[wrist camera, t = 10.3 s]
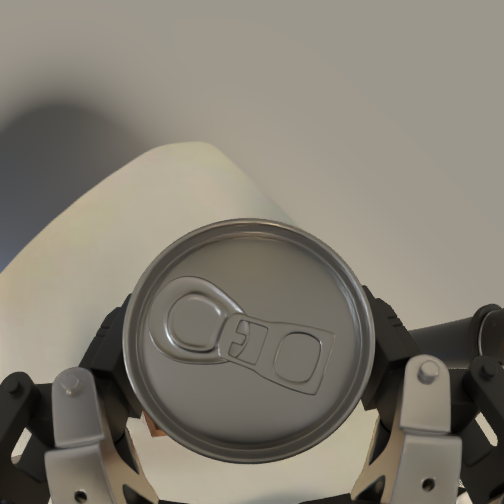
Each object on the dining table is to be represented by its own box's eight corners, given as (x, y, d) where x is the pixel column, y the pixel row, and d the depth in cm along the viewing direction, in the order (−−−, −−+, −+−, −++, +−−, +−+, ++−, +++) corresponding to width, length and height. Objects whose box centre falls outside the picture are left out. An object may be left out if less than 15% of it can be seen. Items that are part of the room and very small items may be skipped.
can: (223, 282, 18) (171, 174, 7) (317, 313, 17) (413, 248, 6) (189, 374, 16) (77, 407, 5) (285, 406, 15) (335, 501, 4)
